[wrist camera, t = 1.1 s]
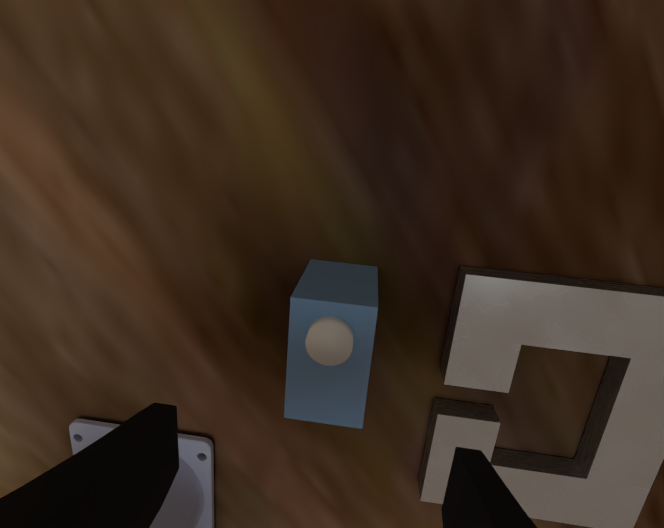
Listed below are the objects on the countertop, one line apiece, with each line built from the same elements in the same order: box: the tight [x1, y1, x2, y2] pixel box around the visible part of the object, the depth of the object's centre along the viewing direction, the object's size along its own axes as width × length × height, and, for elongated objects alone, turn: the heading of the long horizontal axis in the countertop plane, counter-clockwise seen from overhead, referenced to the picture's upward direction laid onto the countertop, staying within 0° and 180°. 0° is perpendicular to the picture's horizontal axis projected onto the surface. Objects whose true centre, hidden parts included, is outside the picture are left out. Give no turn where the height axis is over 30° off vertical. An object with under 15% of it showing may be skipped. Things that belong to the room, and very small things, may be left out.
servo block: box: [284, 259, 378, 429], centre depth 16 cm, size 5×3×5 cm, turn 175°
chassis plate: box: [418, 265, 664, 528], centre depth 18 cm, size 12×10×1 cm
